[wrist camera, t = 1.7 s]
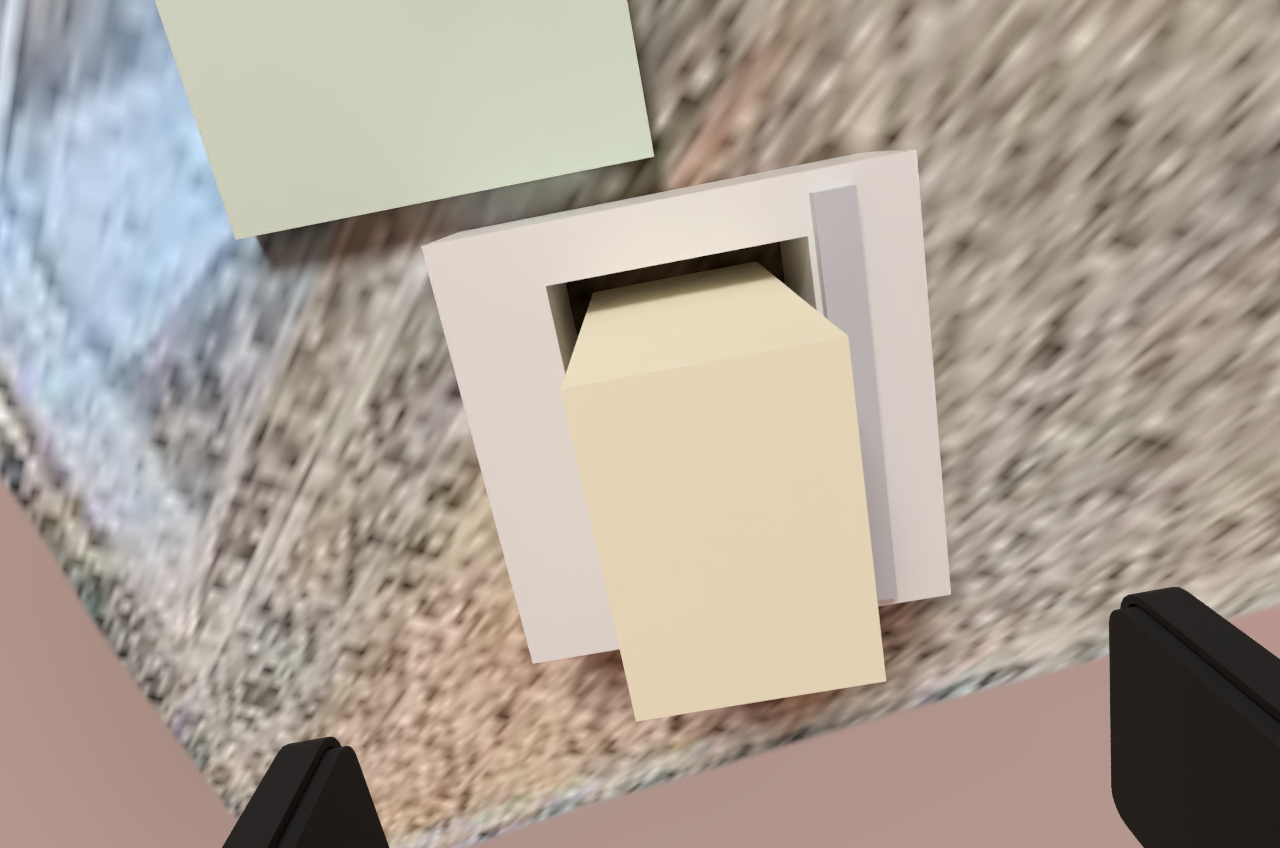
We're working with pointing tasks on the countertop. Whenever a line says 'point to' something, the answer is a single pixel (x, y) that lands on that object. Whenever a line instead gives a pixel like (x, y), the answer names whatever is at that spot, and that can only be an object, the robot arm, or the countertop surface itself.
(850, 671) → the cream rectangular block
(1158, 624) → the robot arm
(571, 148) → the pad
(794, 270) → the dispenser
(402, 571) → the countertop surface
